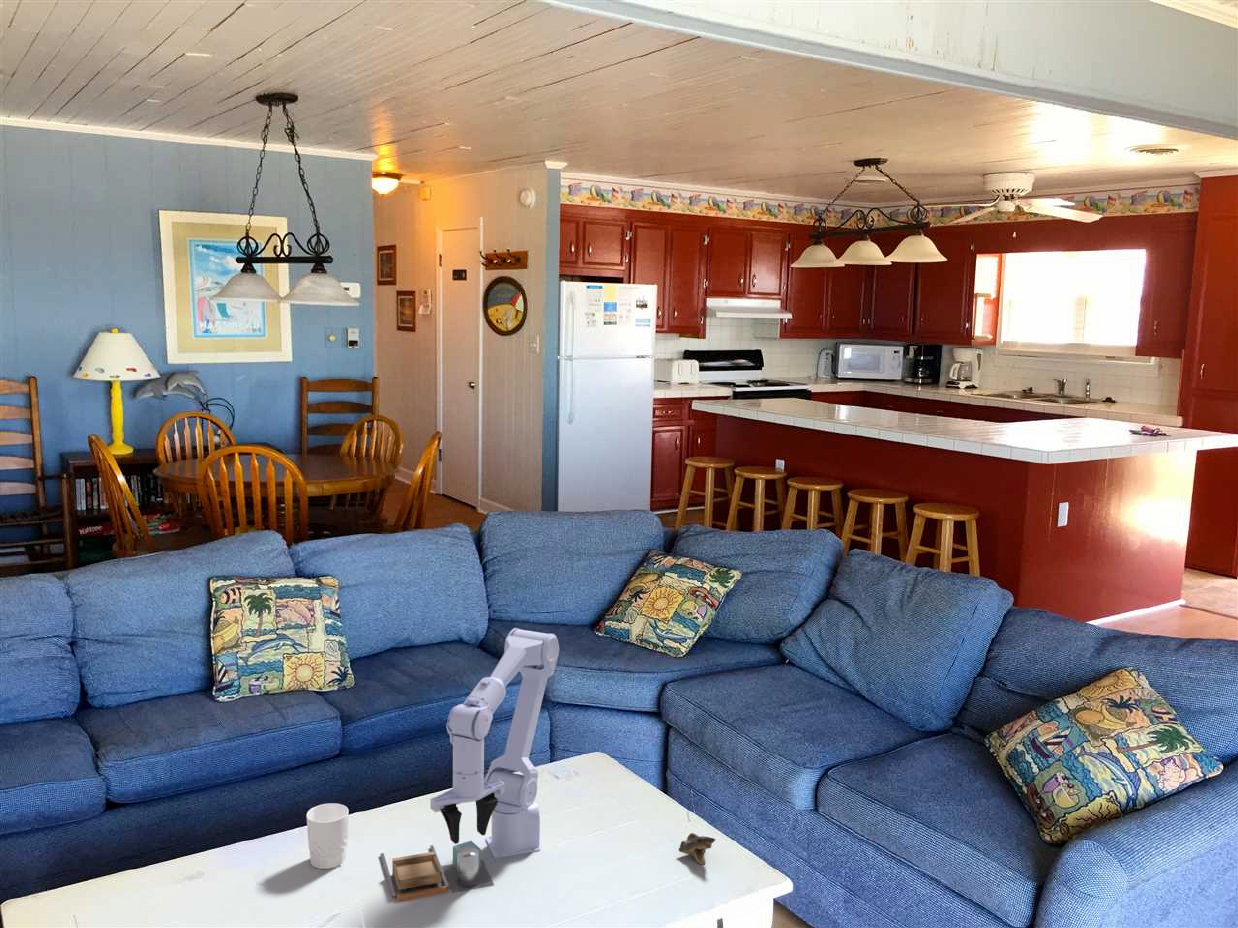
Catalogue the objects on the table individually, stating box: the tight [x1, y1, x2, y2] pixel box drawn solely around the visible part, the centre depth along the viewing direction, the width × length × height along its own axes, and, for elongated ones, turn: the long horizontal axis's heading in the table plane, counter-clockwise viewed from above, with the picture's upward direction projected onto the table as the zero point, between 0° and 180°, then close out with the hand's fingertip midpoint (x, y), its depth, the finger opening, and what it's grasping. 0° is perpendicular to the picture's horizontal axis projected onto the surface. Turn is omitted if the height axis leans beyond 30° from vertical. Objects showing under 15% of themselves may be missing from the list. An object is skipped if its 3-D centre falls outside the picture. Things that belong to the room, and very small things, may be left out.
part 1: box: [452, 840, 482, 869], centre depth 196 cm, size 4×4×4 cm
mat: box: [441, 858, 495, 894], centre depth 194 cm, size 8×10×1 cm
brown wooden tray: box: [391, 851, 443, 893], centre depth 191 cm, size 8×8×4 cm
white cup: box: [305, 802, 349, 870], centre depth 198 cm, size 8×8×10 cm
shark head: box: [678, 832, 716, 866], centre depth 202 cm, size 8×6×7 cm
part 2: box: [457, 847, 479, 888], centre depth 191 cm, size 4×4×6 cm
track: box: [379, 845, 450, 902], centre depth 194 cm, size 10×17×1 cm, turn 21°
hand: (468, 836), depth 190 cm, fingers open, 5 cm apart
